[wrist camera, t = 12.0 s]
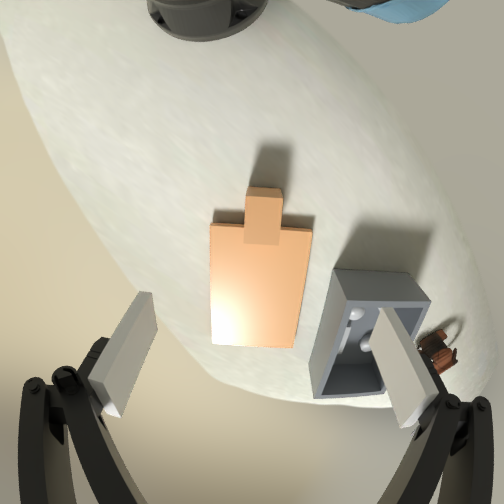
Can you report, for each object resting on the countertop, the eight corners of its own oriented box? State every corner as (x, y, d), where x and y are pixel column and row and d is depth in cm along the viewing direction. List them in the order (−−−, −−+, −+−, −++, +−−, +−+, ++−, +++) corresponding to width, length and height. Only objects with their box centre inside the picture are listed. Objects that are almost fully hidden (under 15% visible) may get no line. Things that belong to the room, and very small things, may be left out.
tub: (333, 268, 39) (347, 300, 32) (408, 273, 39) (431, 301, 32) (308, 364, 48) (313, 398, 40) (372, 362, 48) (383, 393, 40)
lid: (212, 183, 35) (203, 194, 30) (314, 190, 35) (324, 201, 30) (214, 335, 45) (209, 360, 40) (291, 340, 45) (294, 364, 40)
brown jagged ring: (452, 321, 44) (469, 354, 39) (430, 339, 51) (444, 370, 46) (412, 342, 42) (429, 381, 37) (391, 359, 50) (405, 393, 45)
